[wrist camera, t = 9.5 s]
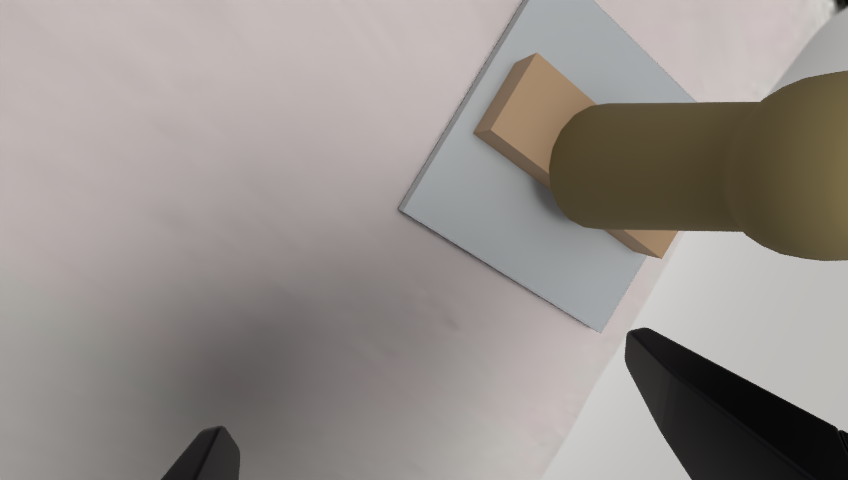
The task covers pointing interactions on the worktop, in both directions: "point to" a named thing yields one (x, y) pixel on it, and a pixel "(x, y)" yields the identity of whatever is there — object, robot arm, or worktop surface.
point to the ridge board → (514, 198)
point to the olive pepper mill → (715, 167)
